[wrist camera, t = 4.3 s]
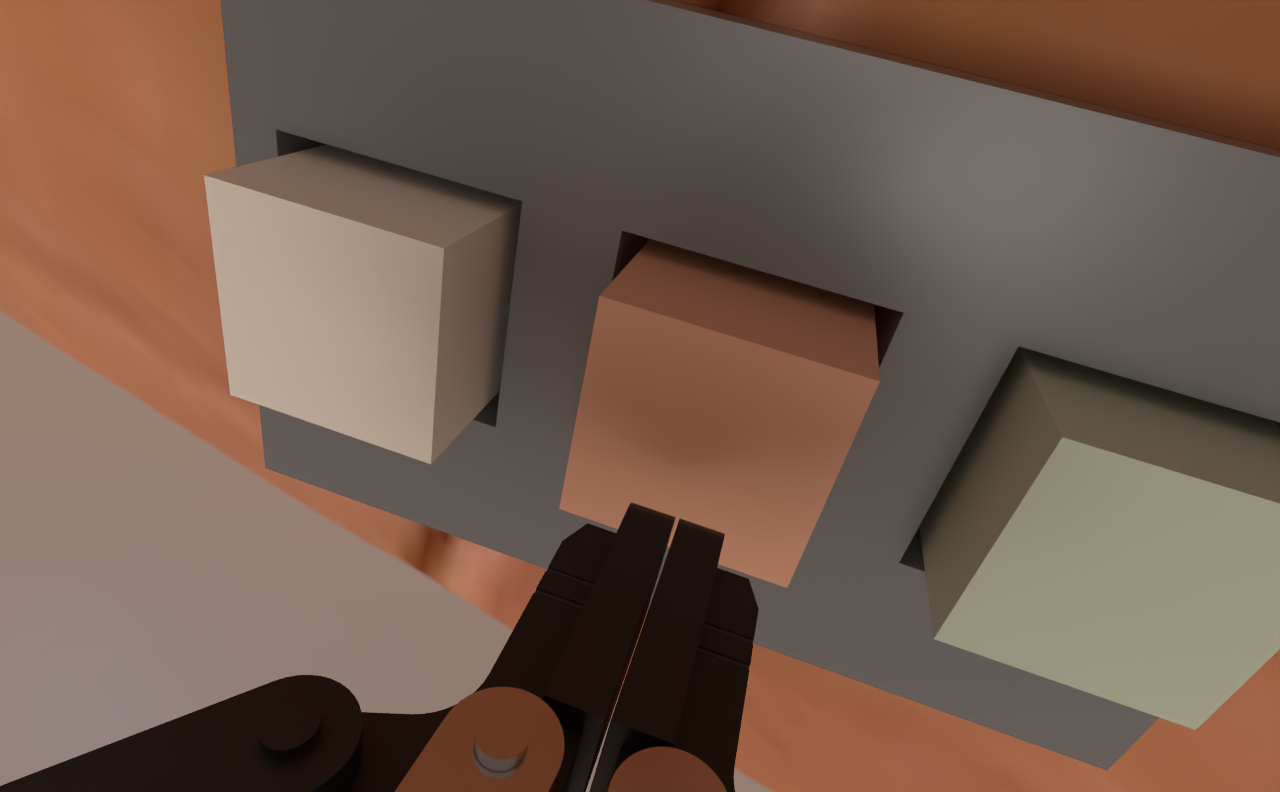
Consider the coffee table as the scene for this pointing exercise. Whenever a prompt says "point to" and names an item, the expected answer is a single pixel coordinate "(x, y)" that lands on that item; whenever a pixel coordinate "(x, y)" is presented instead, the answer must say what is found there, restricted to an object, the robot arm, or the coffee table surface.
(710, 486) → the key terracotta
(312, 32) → the key panel
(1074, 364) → the key sage
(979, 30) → the coffee table surface
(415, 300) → the key ivory
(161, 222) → the coffee table surface
